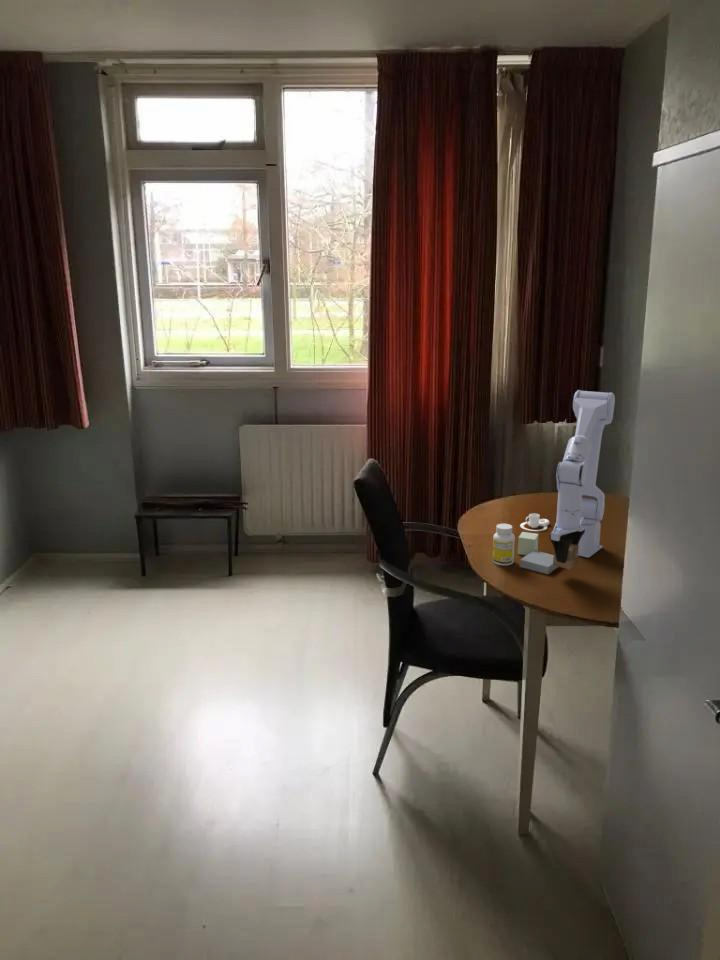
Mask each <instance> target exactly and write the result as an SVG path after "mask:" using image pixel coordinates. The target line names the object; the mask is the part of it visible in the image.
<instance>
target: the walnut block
mask: <svg viewBox="0 0 720 960" xmlns="http://www.w3.org/2000/svg"><path fill="white" fill-rule="evenodd" d="M578 549H579V545H575V544H571V545H570V547H569V550H568V555H567V559H566V562H565V563H561V562H557V560H556V555H555V550H554V549H553V555H554V557H553V565H555V566H558V568H562V569H566V570H571V569H572V568H574V567H575V566H576V565H578V561H579V559H578V558H579V555H578Z"/></svg>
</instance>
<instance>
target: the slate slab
mask: <svg viewBox="0 0 720 960" xmlns="http://www.w3.org/2000/svg"><path fill="white" fill-rule="evenodd" d="M553 557H554V554H550V553H547V552H543V551H539V550H538V551H536V550H534V551H532V552H531V553H529V554H528V555H524V556H523V557H522V558H521V559H519V568H523V569H527V570H531V571H534V572H537V573H541V574H544V575H549V574H551V573H552V572H554V570H556V569H558V568H559V567H558V566H555V565H553Z"/></svg>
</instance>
